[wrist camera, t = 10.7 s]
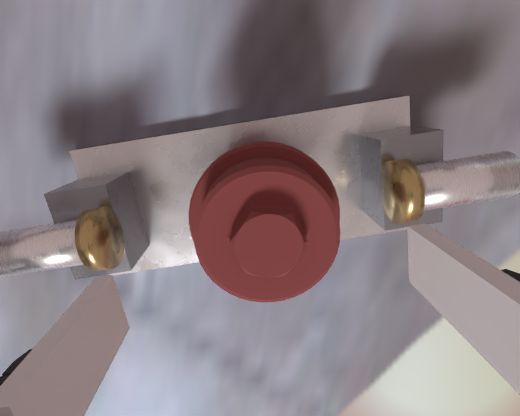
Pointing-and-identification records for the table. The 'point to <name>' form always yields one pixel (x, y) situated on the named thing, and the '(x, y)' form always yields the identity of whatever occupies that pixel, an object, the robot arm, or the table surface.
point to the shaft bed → (224, 139)
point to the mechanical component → (265, 221)
